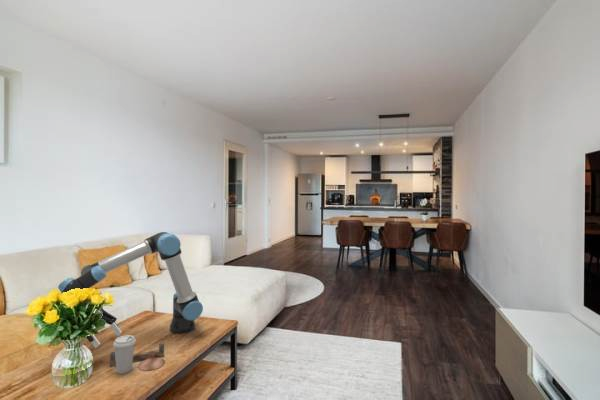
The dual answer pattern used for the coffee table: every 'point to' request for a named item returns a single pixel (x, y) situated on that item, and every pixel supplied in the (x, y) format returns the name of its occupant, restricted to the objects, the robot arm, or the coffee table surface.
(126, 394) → the coffee table surface
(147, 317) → the coffee table surface
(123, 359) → the coffee cup
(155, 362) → the rail
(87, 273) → the robot arm
